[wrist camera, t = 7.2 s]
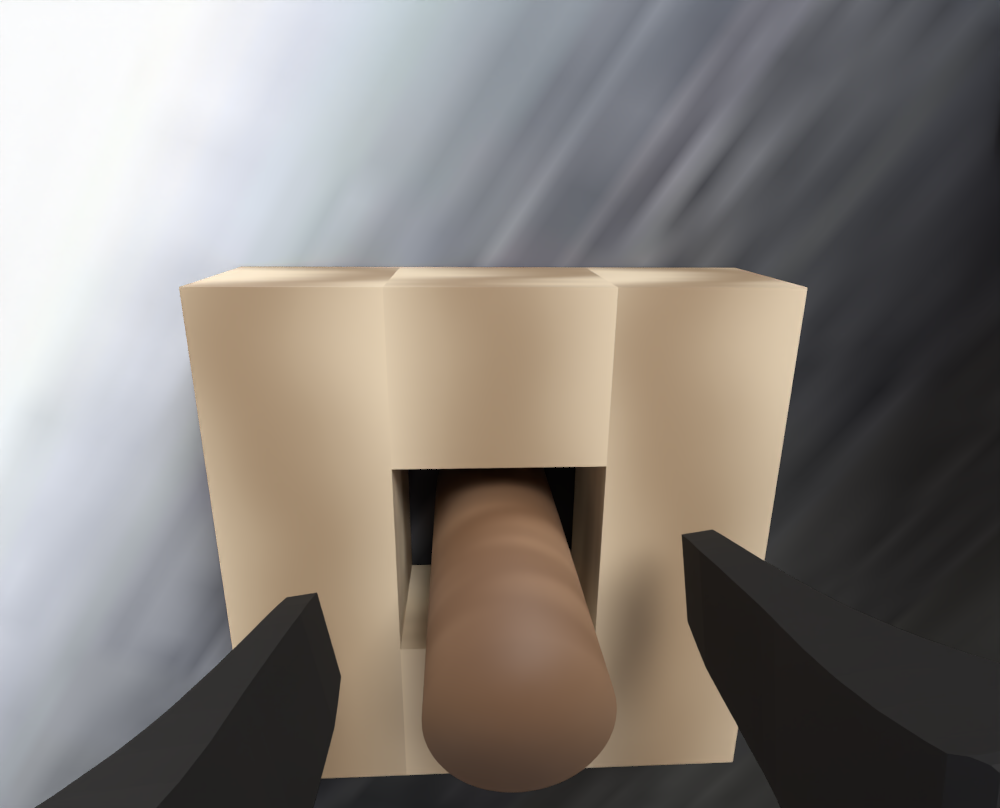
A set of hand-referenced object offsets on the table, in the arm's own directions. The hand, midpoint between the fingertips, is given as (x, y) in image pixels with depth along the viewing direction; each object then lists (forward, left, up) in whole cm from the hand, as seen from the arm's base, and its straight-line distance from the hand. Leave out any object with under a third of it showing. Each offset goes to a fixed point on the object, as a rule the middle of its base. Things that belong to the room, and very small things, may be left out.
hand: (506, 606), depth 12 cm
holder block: (0, 0, -5) cm, 5 cm away
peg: (0, 0, -5) cm, 5 cm away
